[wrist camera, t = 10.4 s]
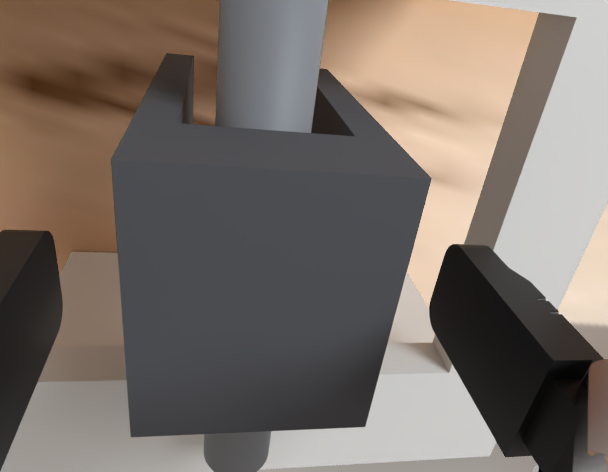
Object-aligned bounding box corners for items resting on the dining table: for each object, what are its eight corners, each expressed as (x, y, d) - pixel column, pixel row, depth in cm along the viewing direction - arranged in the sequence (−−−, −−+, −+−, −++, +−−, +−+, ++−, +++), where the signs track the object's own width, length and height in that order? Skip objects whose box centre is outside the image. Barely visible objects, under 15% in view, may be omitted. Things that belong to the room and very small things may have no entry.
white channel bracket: (13, -220, 16) (-548, -698, 4) (498, -127, 20) (928, -252, 8) (74, 275, 26) (-50, 551, 14) (394, 281, 29) (516, 505, 17)
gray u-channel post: (166, 53, 15) (111, 159, 7) (326, 69, 16) (431, 178, 8) (168, 226, 18) (130, 437, 10) (304, 231, 19) (365, 427, 11)
